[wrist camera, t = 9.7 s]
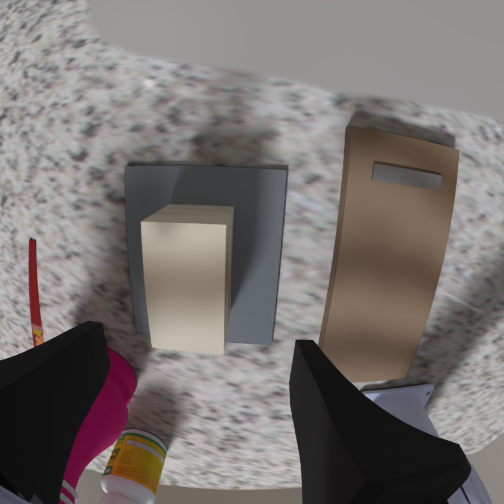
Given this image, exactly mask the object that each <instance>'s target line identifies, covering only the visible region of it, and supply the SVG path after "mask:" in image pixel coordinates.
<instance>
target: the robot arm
mask: <svg viewBox="0 0 504 504" xmlns="http://www.w3.org/2000/svg"><path fill="white" fill-rule="evenodd" d="M110 367H111V362H110V358H109V354H108V349H107V345H106V340H105V336H104V331H103V326H102V323H99V322H92V321H87V322H85V323H82V324H80V325H78V326H76V327H74V328H72V329H70V330H68V331H66V332H64V333H62V334H60V335H58V336H56V337H54V338H52V339H50V340H49V341H47V342H44V343H42V344H40V345H38V346H36V347H34V348H32V349H30V350H27V351H25V352H23V353H20V354H18V355H15V356H12V357H10V358H7V359H4V360H0V504H59V500H60V493H61V488H62V483H63V479H64V474H65V470H66V467H67V463H68V460H69V457H70V453H71V450H72V448H73V445H74V442H75V439H76V437H77V434H78V432H79V430H80V428H81V426H82V424H83V422H84V420H85V418H86V416H87V415H88V413H89V411H90V409H91V407H92V406H93V404H94V402H95V400H96V398H97V397H98V395H99V393H100V391H101V389H102V388H103V386H104V383H105V381H106V378H107V376H108V373H109V370H110ZM433 389H434V385H433V384H424V385H417V386H410V387H402V388H393V389H384V390H373V391H363V392H361V391H359V390H358V389H357V388H356V387H355V386H354V385H353V384H352V383H351V382H350V381H349V380H348V379H347V378H346V377H345V376H344V375H343V374H342V373H341V372H340V371H339V370H338V369H337V368H336V367H335V365H334V364H333V363H332V362H331V361H330V360H329V359H328V357H327V356H326V355H325V354H324V353H323V351H322V350H321V349H320V348H319V346H318V345H317V344H316V343H315V342H314V341H313V340H296V342H295V349H294V355H293V362H292V368H291V374H290V381H289V390H290V406H291V412H292V418H293V423H294V428H295V434H296V439H297V444H298V450H299V455H300V463H301V477H302V499H303V504H492V502H491V499H490V497H489V495H488V492H487V490H486V488H485V486H484V484H483V482H482V481H481V479H480V477H479V475H478V473H477V472H476V470H475V468H474V467H473V465H472V464H471V462H469V461H468V459H467V458H466V456H465V454H464V452H463V450H462V448H461V447H460V445H459V444H457V443H454V442H451V441H448V440H445V439H442V438H440V437H439V435H438V433H437V431H436V430H435V428H434V426H433V424H432V422H431V420H430V418H429V417H428V415H427V413H426V411H425V409H424V407H425V405H426V403H427V401H428V399H429V397H430V395H431V393H432V391H433Z"/></svg>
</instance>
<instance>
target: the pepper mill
mask: <svg viewBox="0 0 504 504" xmlns="http://www.w3.org/2000/svg"><path fill="white" fill-rule="evenodd" d="M107 349H108V354H109V358H110V362H111V367H110V370H109V373H108V376H107V378H106V381H105V383H104V386H103V388H102V389H101V391H100V393H99V395H98V397H97V398H96V400H95V402H94V404H93V406H92V407H91V409H90V411H89V413H88V415H87V416H86V418H85V420H84V422H83V424H82V426H81V428H80V430H79V432H78V434H77V437H76V439H75V442H74V445H73V448H72V450H71V453H70V457H69V460H68V463H67V467H66V470H65V474H64V479H63V483H62V488H61V493H60V500H59V504H74V503H75V502H76V501H78V498H79V497H78V494H77V492H76V491H75V489H76V486H77V483H78V480H79V477H80V476H81V474H82V472H83V471H84V469H85V467H86V466H87V465H88V464H89V463H90V462H91V461H92V460H93V459H94V458H95V457H96V456H98V455H99V454H100V453H101V452H103V451H104V450H105V449H107V448H108V447H109V446H111V445H112V444H113V443H114V442H115V441H116V440H117V439H118V438H119V437H120V435H121V433H122V432H123V430H124V428H125V426H126V424H127V422H128V409H127V405H128V404H129V402H130V400H131V398H132V396H133V394H134V392H135V389H136V378H135V375H134V373H133V370H132V369H131V367H130V366H129V365H128V363H127V362H126V361H125V360H124V359H123V358H122V357H121V356H120V355H119V354H117V353H116V352H114V351H112V350H111V349H109V348H107Z"/></svg>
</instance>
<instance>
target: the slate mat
mask: <svg viewBox="0 0 504 504" xmlns="http://www.w3.org/2000/svg"><path fill="white" fill-rule="evenodd" d="M286 174H287V170H278V169H263V168H245V167H221V166H125V206H126V232H127V249H128V262H129V274H130V285H131V294H132V303H133V311H134V319H135V326H136V333H140V334H147V335H150V328H149V320H148V311H147V302H146V292H145V281H144V268H143V254H142V235H141V221H143V220H144V219H146V218H148V217H149V216H151V215H152V214H154V213H156V212H157V211H159V210H161V209H162V208H164V207H166V206H167V205H169V204H181V205H212V206H234V221H233V250H232V283H231V312H230V319H229V325H228V332H227V338H226V342H229V343H245V344H265V345H271V343H272V334H273V324H274V315H275V305H276V294H277V284H278V273H279V262H280V251H281V239H282V227H283V214H284V201H285V188H286Z"/></svg>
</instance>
